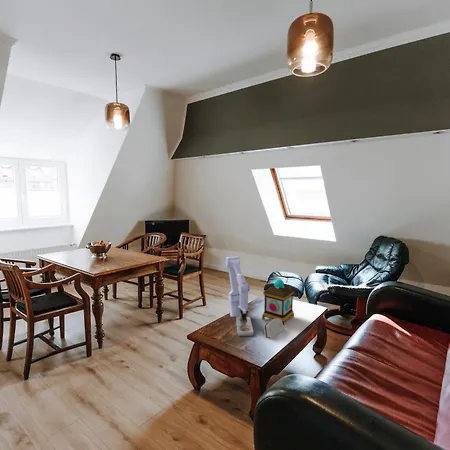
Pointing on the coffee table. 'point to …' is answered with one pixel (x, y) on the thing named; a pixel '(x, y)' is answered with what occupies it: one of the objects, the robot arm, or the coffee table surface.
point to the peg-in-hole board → (244, 327)
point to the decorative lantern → (278, 302)
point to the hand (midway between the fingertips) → (243, 318)
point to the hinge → (273, 328)
